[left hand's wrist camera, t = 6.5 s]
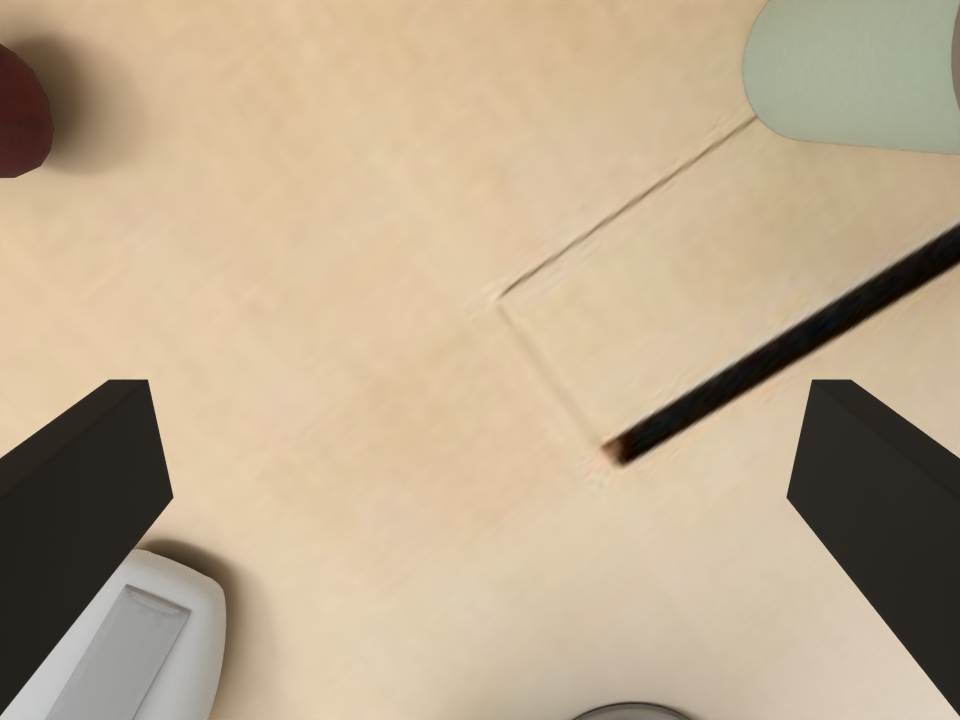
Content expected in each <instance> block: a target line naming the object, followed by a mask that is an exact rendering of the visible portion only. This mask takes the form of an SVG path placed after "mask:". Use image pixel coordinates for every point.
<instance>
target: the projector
mask: <svg viewBox="0 0 960 720" xmlns="http://www.w3.org/2000/svg"><path fill="white" fill-rule="evenodd" d="M225 636H226V603H225V596H224V592H223V590H222V588H221V587H220V585H219V584H218V583H217V582H216V581H214V580H213V579H211V578H210V577H207V576H205V575H203V574H201V573H199V572H197V571H195V570H193V569H191V568H189V567H187V566H185V565H182V564H180V563H178V562H175V561H173V560H171V559H168V558H165V557H163V556H160V555H156V554H153V553H151V552H149V551H146V550H141V549H132V551H131V552H130V553H129V554H128V556H127V557H126V558H125V559H124V561H123V562H122V563H121V565H120V566H119V567H118V568H117V570H116V571H115V572H114V573H113V575H112V576H111V577H110V578H109V580H108V581H107V582H106V583H105V585H104V586H103V587H102V588H101V590H100V591H99V592H98V594H97V595H96V596H95V597H94V599H93V600H92V601H91V602H90V604H89V605H88V606H87V607H86V609H85V610H84V611H83V612H82V614H81V615H80V616H79V618H78V619H77V620H76V621H75V623H74V624H73V625H72V626H71V628H70V629H69V630H68V631H67V633H66V634H65V635H64V636H63V638H62V639H61V640H60V642H59V643H58V644H57V645H56V647H55V648H54V649H53V650H52V652H51V653H50V654H49V655H48V657H47V658H46V659H45V660H44V662H43V663H42V664H41V666H40V667H39V668H38V669H37V671H36V672H35V673H34V674H33V676H32V677H31V678H30V679H29V681H28V682H27V683H26V684H25V686H24V687H23V688H22V690H21V691H20V692H19V693H18V695H17V696H16V697H15V698H14V700H13V701H12V702H11V703H10V705H9V706H8V707H7V708H6V710H5V711H4V712H3V714H2V715H1V716H0V720H208V718H209V715H210V712H211V709H212V706H213V702H214V699H215V695H216V692H217V688H218V684H219V679H220V674H221V669H222V663H223V656H224V646H225Z"/></svg>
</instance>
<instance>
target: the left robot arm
mask: <svg viewBox="0 0 960 720" xmlns="http://www.w3.org/2000/svg"><path fill="white" fill-rule="evenodd" d="M173 498H174V497H173V493H172V488H171V484H170V479H169V474H168V470H167V465H166V461H165V456H164V452H163V447H162V442H161V438H160V433H159V429H158V424H157V419H156V415H155V410H154V406H153V401H152V397H151V392H150V387H149V383H148V380H108V381H106V382H105V383H104V384H102V385H101V386H100V387H98V388H97V389H95V390H94V391H93V392H91V393H90V394H88V395H87V396H86V397H84V398H83V399H82V400H80V401H79V402H77V403H76V404H75V405H73V406H72V407H71V408H69V409H68V410H66V411H65V412H64V413H62V414H61V415H60V416H58V417H57V418H55V419H54V420H53V421H51V422H50V423H49V424H47V425H46V426H44V427H43V428H42V429H40V430H39V431H37V432H36V433H35V434H33V435H32V436H31V437H29V438H28V439H26V440H25V441H24V442H22V443H21V444H20V445H18V446H17V447H15V448H14V449H13V450H11V451H10V452H9V453H7V454H6V455H4V456H3V457H2V458H0V716H1V715H2V714H3V712H4V711H5V710H6V708H7V707H8V706H9V705H10V703H11V702H12V701H13V700H14V698H15V697H16V696H17V695H18V693H19V692H20V691H21V690H22V688H23V687H24V686H25V684H26V683H27V682H28V681H29V679H30V678H31V677H32V676H33V674H34V673H35V672H36V671H37V669H38V668H39V667H40V666H41V664H42V663H43V662H44V660H45V659H46V658H47V657H48V655H49V654H50V653H51V652H52V650H53V649H54V648H55V647H56V645H57V644H58V643H59V642H60V640H61V639H62V638H63V636H64V635H65V634H66V633H67V631H68V630H69V629H70V628H71V626H72V625H73V624H74V623H75V621H76V620H77V619H78V618H79V616H80V615H81V614H82V612H83V611H84V610H85V609H86V607H87V606H88V605H89V604H90V602H91V601H92V600H93V599H94V597H95V596H96V595H97V594H98V592H99V591H100V590H101V588H102V587H103V586H104V585H105V583H106V582H107V581H108V580H109V578H110V577H111V576H112V575H113V573H114V572H115V571H116V570H117V568H118V567H119V566H120V565H121V563H122V562H123V561H124V559H125V558H126V557H127V556H128V554H129V553H130V552H131V551H132V549H133V548H134V547H135V546H136V544H137V543H138V542H139V541H140V539H141V538H142V537H143V535H144V534H145V533H146V532H147V530H148V529H149V528H150V527H151V525H152V524H153V523H154V522H155V520H156V519H157V518H158V517H159V515H160V514H161V513H162V511H163V510H164V509H165V508H166V506H167V505H168V504H169V503H170V501H171V500H172V499H173ZM786 498H787V499H788V500H789V501H790V503H791V504H792V505H793V506H794V508H795V509H796V510H797V511H798V513H799V514H800V515H801V517H802V518H803V519H804V520H805V522H806V523H807V524H808V525H809V527H810V528H811V529H812V530H813V532H814V533H815V534H816V535H817V537H818V538H819V539H820V541H821V542H822V543H823V544H824V546H825V547H826V548H827V549H828V551H829V552H830V553H831V554H832V556H833V557H834V558H835V559H836V561H837V562H838V563H839V565H840V566H841V567H842V568H843V570H844V571H845V572H846V573H847V575H848V576H849V577H850V578H851V580H852V581H853V582H854V583H855V585H856V586H857V587H858V588H859V590H860V591H861V592H862V594H863V595H864V596H865V597H866V599H867V600H868V601H869V602H870V604H871V605H872V606H873V607H874V609H875V610H876V611H877V612H878V614H879V615H880V616H881V618H882V619H883V620H884V621H885V623H886V624H887V625H888V626H889V628H890V629H891V630H892V631H893V633H894V634H895V635H896V636H897V638H898V639H899V640H900V642H901V643H902V644H903V645H904V647H905V648H906V649H907V650H908V652H909V653H910V654H911V655H912V657H913V658H914V659H915V660H916V662H917V663H918V664H919V666H920V667H921V668H922V669H923V671H924V672H925V673H926V674H927V676H928V677H929V678H930V679H931V681H932V682H933V683H934V684H935V686H936V687H937V688H938V690H939V691H940V692H941V693H942V695H943V696H944V697H945V698H946V700H947V701H948V702H949V703H950V705H951V706H952V707H953V708H954V710H955V711H956V712H957V714H958V715H959V716H960V458H958V457H957V456H956V455H954V454H953V453H951V452H950V451H949V450H947V449H946V448H945V447H943V446H942V445H940V444H939V443H938V442H936V441H935V440H934V439H932V438H931V437H929V436H928V435H927V434H925V433H924V432H923V431H921V430H920V429H918V428H917V427H916V426H914V425H913V424H911V423H910V422H909V421H907V420H906V419H905V418H903V417H902V416H900V415H899V414H898V413H896V412H895V411H894V410H892V409H891V408H889V407H888V406H887V405H885V404H884V403H883V402H881V401H880V400H878V399H877V398H876V397H874V396H873V395H872V394H870V393H869V392H867V391H866V390H865V389H863V388H862V387H860V386H859V385H858V384H856V383H855V382H854V381H852V380H812V383H811V387H810V392H809V397H808V401H807V406H806V410H805V415H804V419H803V424H802V429H801V433H800V438H799V442H798V447H797V452H796V456H795V461H794V465H793V470H792V474H791V479H790V484H789V488H788V493H787V497H786ZM575 720H689V719H687V718H686V717H684V716H682V715H681V714H678V713H676V712H674V711H671V710H668V709H665V708H662V707H657V706H652V705H644V704H624V705H615V706H609V707H605V708H601V709H598V710H595V711H592V712H589V713H587V714H584V715H582V716H580V717H578V718H576V719H575Z"/></svg>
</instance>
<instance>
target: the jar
mask: <svg viewBox="0 0 960 720" xmlns="http://www.w3.org/2000/svg"><path fill="white" fill-rule="evenodd" d="M959 3H960V0H769V2H768V3H767V4H766V5H765V7H764V8H763V10H762V11H761V13H760V14H759V16H758V18H757V20H756V21H755V23H754V25H753V27H752V30H751V32H750V35H749V38H748V41H747V45H746V48H745V54H744V60H743V79H744V86H745V91H746V95H747V98H748V100H749V103H750V105H751V107H752V109H753V111H754V112H755V114H756V115H757V116H758V118H759V119H760V120H761V121H762V122H763V123H764V124H765V125H766V126H767V127H768V128H770V129H771V130H772V131H774V132H775V133H777V134H779V135H781V136H784V137H787V138H790V139H793V140H800V141H809V142H820V143H830V144H841V145H852V146H862V147H873V148H884V149H894V150H905V151H915V152H926V153H937V154H947V155H958V156H960V110H959V108H958V104H957V100H956V97H955V93H954V89H953V80H952V71H951V45H952V37H953V30H954V23H955V18H956V14H957V10H958V7H959Z"/></svg>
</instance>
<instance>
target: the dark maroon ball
mask: <svg viewBox="0 0 960 720" xmlns="http://www.w3.org/2000/svg"><path fill="white" fill-rule="evenodd" d="M53 130H54V129H53V124H52V118H51V113H50V108H49V103H48V99H47V97H46V95H45V93H44V91H43V89H42V87H41V85H40V83H39V81H38V79H37V77H36V75H35V73H34V72H33V71H32V70H31V69H30V68H29V67H28V66H27V65H26V64H25V63H24V62H23V61H22V60H21V59H20V58H19V57H18V56H17V55H16V54H15V53H13V52H12V51H10V50H9V49H7V48H6V47H4V46H3V45H1V44H0V178H15V177H17V176H20V175H22V174H24V173H27V172H29V171H31V170H33V169H35V168H38V167H40V166H41V165H42V163H43V161H44V160H45V158H46V157H47V155H48V154H49V152H50V150H51V144H52V137H53Z"/></svg>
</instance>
